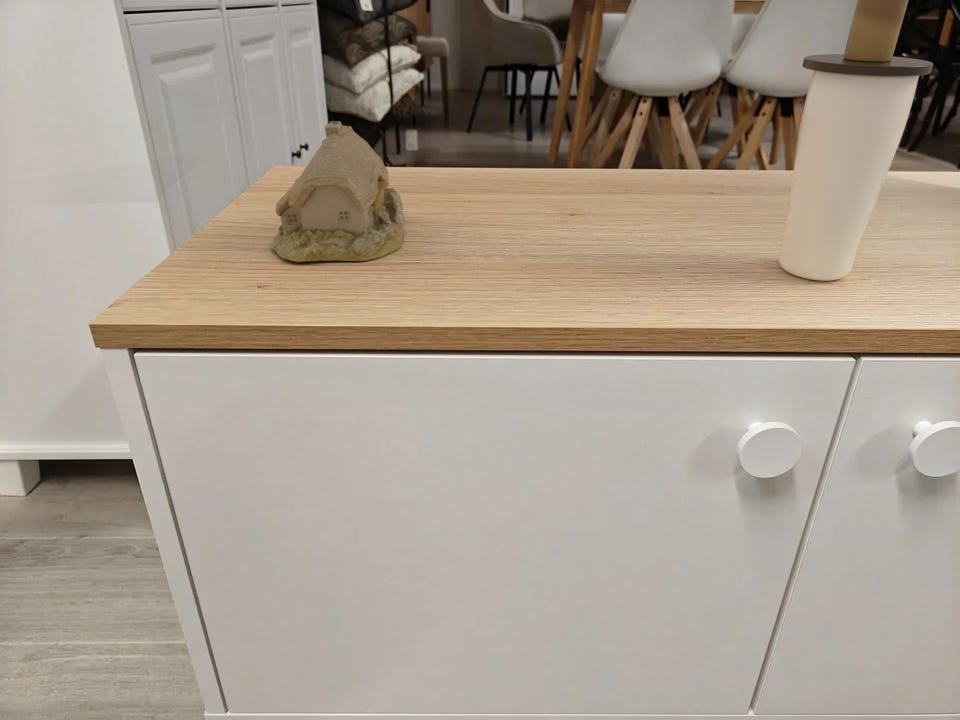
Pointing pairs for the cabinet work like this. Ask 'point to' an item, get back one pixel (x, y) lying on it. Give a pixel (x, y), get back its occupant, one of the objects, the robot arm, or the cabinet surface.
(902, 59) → the lid
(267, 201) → the cabinet surface
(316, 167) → the ceramic model
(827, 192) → the drinking glass
